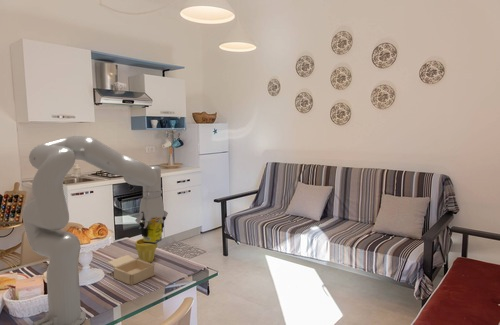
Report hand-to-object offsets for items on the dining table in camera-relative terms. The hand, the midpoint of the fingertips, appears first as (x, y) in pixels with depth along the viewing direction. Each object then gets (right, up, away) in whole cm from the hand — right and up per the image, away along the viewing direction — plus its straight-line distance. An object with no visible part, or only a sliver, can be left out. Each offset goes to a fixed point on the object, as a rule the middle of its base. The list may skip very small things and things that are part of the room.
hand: (152, 234), depth 152 cm
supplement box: (0, -4, 0) cm, 4 cm away
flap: (-16, -13, +6) cm, 22 cm away
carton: (-8, -19, +2) cm, 21 cm away
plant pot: (-8, -17, +20) cm, 27 cm away
